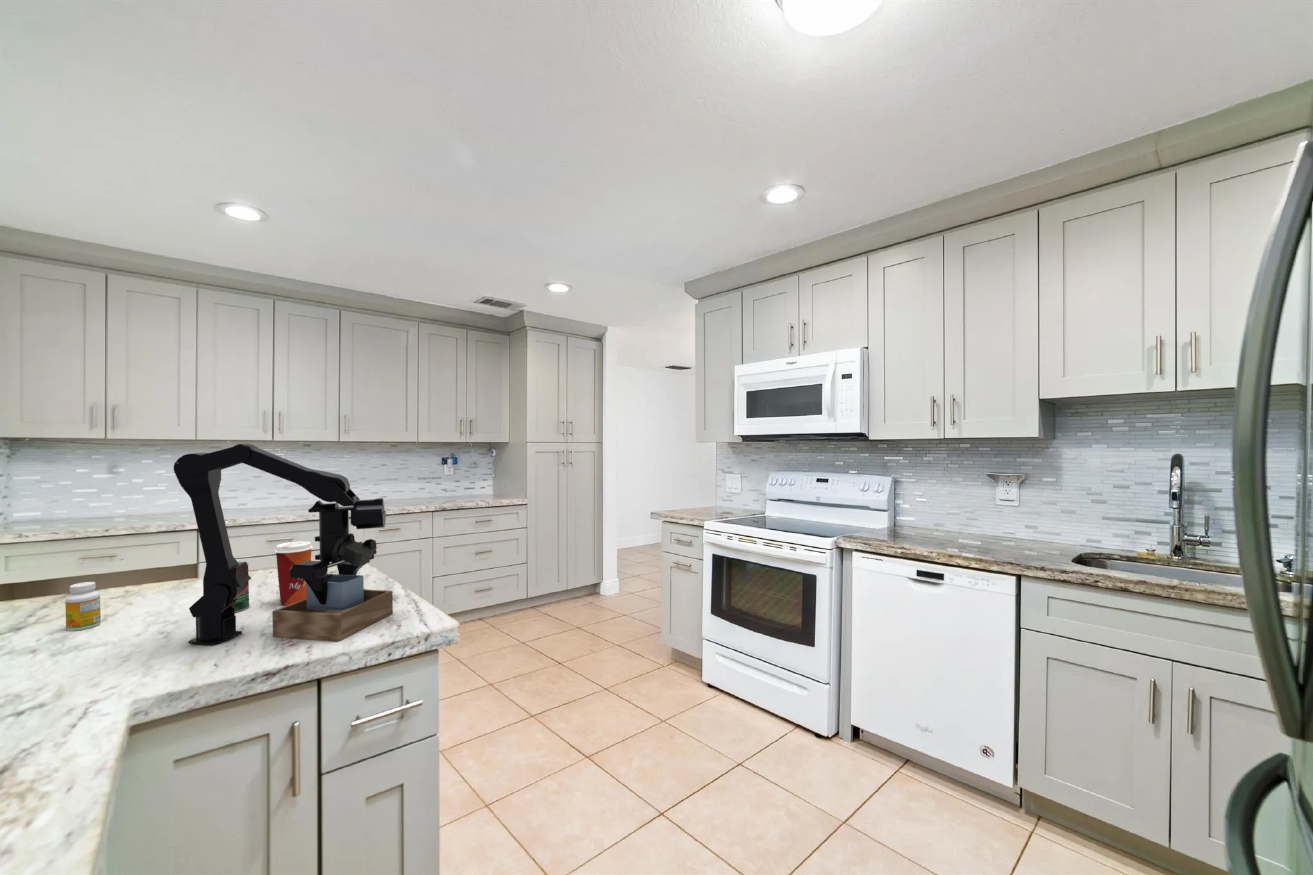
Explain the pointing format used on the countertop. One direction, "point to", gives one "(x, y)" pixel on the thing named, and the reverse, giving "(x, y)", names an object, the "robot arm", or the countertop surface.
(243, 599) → the canned tomato
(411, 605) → the countertop surface
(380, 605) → the big crate
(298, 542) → the coffee cup
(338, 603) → the small crate
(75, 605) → the supplement bottle
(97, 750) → the countertop surface
